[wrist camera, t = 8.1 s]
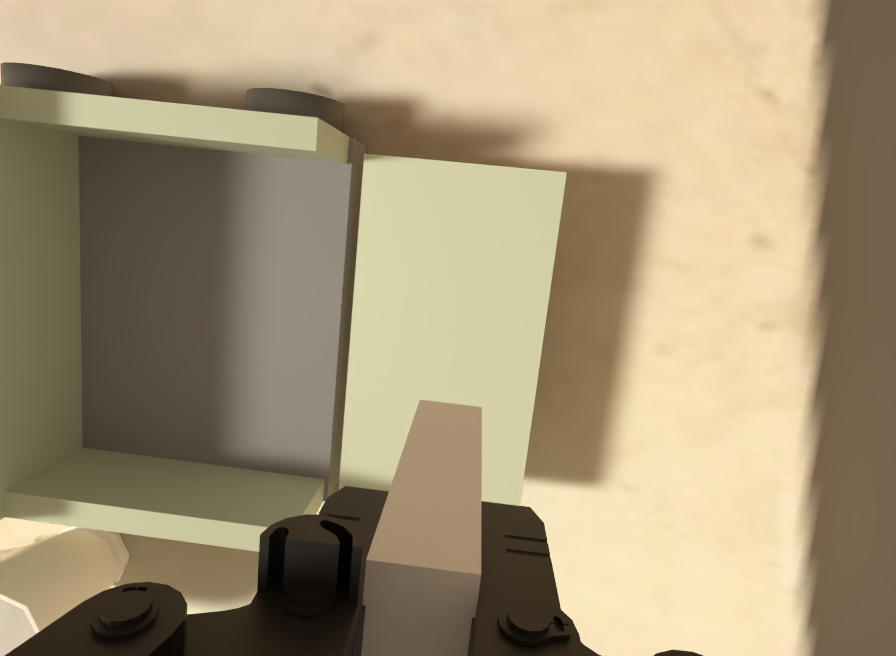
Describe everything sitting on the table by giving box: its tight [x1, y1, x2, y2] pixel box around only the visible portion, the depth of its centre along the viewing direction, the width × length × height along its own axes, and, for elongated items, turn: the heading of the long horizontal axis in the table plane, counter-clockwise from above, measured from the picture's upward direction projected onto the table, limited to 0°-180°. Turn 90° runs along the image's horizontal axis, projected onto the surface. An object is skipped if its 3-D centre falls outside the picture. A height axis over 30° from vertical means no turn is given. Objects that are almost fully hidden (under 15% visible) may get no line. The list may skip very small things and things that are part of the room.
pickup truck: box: [0, 63, 367, 552], centre depth 26 cm, size 21×18×11 cm
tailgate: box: [339, 153, 567, 506], centre depth 28 cm, size 17×1×9 cm
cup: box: [0, 526, 130, 656], centre depth 31 cm, size 7×10×8 cm
